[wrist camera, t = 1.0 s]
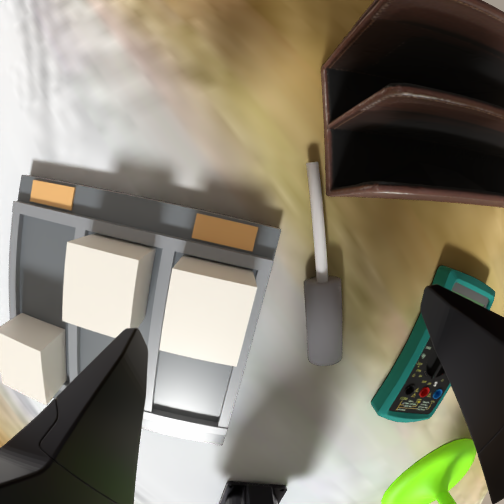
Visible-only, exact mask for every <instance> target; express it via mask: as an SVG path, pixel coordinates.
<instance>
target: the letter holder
mask: <svg viewBox="0 0 504 504" xmlns="http://www.w3.org/2000/svg"><path fill="white" fill-rule="evenodd" d="M321 79H322V94H323V112H324V138H325V171H326V195H327V196H330V197H335V196H340V197H345V196H347V197H368V198H391V199H409V200H426V201H439V202H451V203H464V204H475V205H485V206H496V207H502V208H504V12H503V11H501V10H499V9H497V8H495V7H494V6H492V5H489V4H488V3H486V2H484V1H482V0H375V1H374V2H373V3H372V4H371V5H370V6H369V8H368V9H367V10H366V11H365V12H364V14H363V15H362V16H361V17H360V19H359V20H358V21H357V23H356V24H355V25H354V27H353V28H352V29H351V31H350V32H349V33H348V35H347V36H346V37H344V39H343V41H342V42H341V43H340V44H339V45H338V47H337V48H336V50H335V51H334V52H333V54H332V55H331V56H330V57H329V59H328V60H327V61H326V62H325V63H324V64H323V66H322V68H321Z"/></svg>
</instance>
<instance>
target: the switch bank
mask: <svg viewBox="0 0 504 504" xmlns="http://www.w3.org/2000/svg"><path fill="white" fill-rule="evenodd" d="M12 212H13V215H12V224H11V236H10V252H9V311H10V320H11V319H12V318H14V317H16V316H17V315H19V314H20V313H24V314H26V315H29V316H31V317H34V318H36V319H39V320H41V321H44V322H47V323H49V324H52V325H55V326H57V327H60V328H63V329H65V351H66V374H67V380H66V382H65V383H64V384H63V385H62V387H61V388H60V389H59V390H58V392H57V393H56V394H55V395H54V397H53V398H55V399H56V397H57V396H58V395H59V394H60V393H61V392H62V391H63V390H64V389H65V388H66V387H67V386H68V385H69V384H70V383H71V382H72V381H73V380H74V379H75V377H76V376H77V375H78V374H79V373H80V372H81V371H83V370H84V369H85V368H86V367H87V366H88V365H89V364H90V363H91V362H92V361H93V360H94V359H95V358H96V357H97V356H98V355H99V354H100V353H101V352H102V351H103V350H104V349H105V348H106V347H107V346H108V345H109V344H110V343H111V342H112V341H113V340H114V339H115V338H114V337H110V336H107V335H104V334H100V333H97V332H94V331H91V330H88V329H85V328H82V327H79V326H76V325H73V324H70V323H67V322H64V321H62V307H63V284H64V269H65V257H66V247H67V242H68V241H71V240H75V239H78V238H81V237H84V236H88V235H91V234H94V233H95V234H99V235H103V236H107V237H112V238H116V239H120V240H124V241H128V242H132V243H137V244H141V245H145V246H149V247H153V248H156V251H155V256H154V262H153V268H152V274H151V280H150V287H149V293H148V300H147V307H146V315H145V318H144V320H143V321H142V323H141V324H140V326H139V327H138V329H139V330H140V332H141V334H142V336H143V338H144V340H145V343H146V345H147V347H148V368H147V389H146V400H145V407H144V414H143V421H142V429H146V430H150V431H153V432H157V433H162V434H166V435H170V436H175V437H179V438H184V439H189V440H194V441H199V442H205V443H211V444H217V445H223V442H224V439H225V436H226V433H227V429H228V425H229V422H230V418H231V415H232V411H233V408H234V404H235V401H236V397H237V394H238V390H239V387H240V383H241V380H242V376H243V372H244V369H245V365H246V362H247V358H248V354H249V351H250V347H251V343H252V340H253V336H254V332H255V329H256V325H257V321H258V318H259V314H260V310H261V306H262V303H263V299H264V295H265V291H266V287H267V284H268V280H269V276H270V273H271V269H272V265H273V260H274V256H275V252H276V248H277V244H278V240H279V236H280V232H281V229H280V228H278V227H274V226H269V225H265V224H261V223H257V222H253V221H248V220H244V219H240V218H235V217H231V216H227V215H222V214H218V213H214V212H209V211H205V210H200V209H196V208H191V207H187V206H182V205H178V204H173V203H168V202H164V201H159V200H154V199H150V198H145V197H140V196H135V195H130V194H125V193H120V192H115V191H111V190H105V189H100V188H95V187H90V186H85V185H80V184H75V183H69V182H64V181H58V180H53V179H48V178H42V177H36V176H31V175H22V176H21V182H20V188H19V195H18V201H13V208H12ZM183 255H188V256H192V257H197V258H201V259H205V260H210V261H214V262H219V263H223V264H228V265H232V266H236V267H241V268H245V269H250V270H253V274H254V277H255V281H256V284H257V291H256V295H255V298H254V302H253V306H252V310H251V314H250V318H249V322H248V326H247V329H246V333H245V337H244V341H243V345H242V349H241V352H240V356H239V360H238V364H237V367H235V366H230V365H224V364H219V363H214V362H209V361H204V360H200V359H195V358H191V357H186V356H182V355H177V354H173V353H169V352H165V351H161V350H159V348H160V341H161V334H162V327H163V321H164V314H165V308H166V302H167V296H168V290H169V284H170V279H171V273H172V268H173V267H174V266H175V264H176V263H177V262H178V261H179V260H180V258H181V257H182V256H183Z"/></svg>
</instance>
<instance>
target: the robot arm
mask: <svg viewBox="0 0 504 504" xmlns="http://www.w3.org/2000/svg"><path fill="white" fill-rule="evenodd" d="M420 309H421V314H422V317H423V319H424V322H425V324H426V327H427V330H428V332H429V335H430V338H431V341H432V343H433V346H434V349H435V351H436V353H437V356H438V358H439V360H440V362H441V364H442V366H443V369H444V371H445V373H446V375H447V377H448V380H449V382H450V384H451V386H452V389H453V391H454V393H455V396H456V398H457V401H458V403H459V405H460V408H461V410H462V413H463V415H464V418H465V421H466V423H467V426H468V429H469V431H470V434H471V437H472V440H473V442H474V445H475V448H476V451H477V453H478V457H479V461H480V464H481V467H482V470H483V473H484V477H485V480H486V483H487V487H488V490H489V494H490V498H491V501H492V504H495V503H497V502H499V501H500V500H502V499H504V317H502V316H500V315H498V314H496V313H494V312H492V311H490V310H488V309H486V308H485V307H483V306H481V305H479V304H477V303H475V302H473V301H471V300H469V299H467V298H465V297H463V296H461V295H459V294H457V293H454V292H452V291H450V290H448V289H446V288H444V287H442V286H440V285H438V284H434V285H429V286H427V287H426V288H425V290H424V294H423V298H422V302H421V308H420ZM147 368H148V347H147V345H146V343H145V340H144V338H143V336H142V334H141V332H140V330H139V329H138V328H126V329H124V330H123V331H122V332H121V333H120V334H119V335H118V336H117V337H116V338H115V339H114V340H113V341H112V342H111V343H110V344H109V345H108V346H107V347H106V348H105V349H104V350H103V351H102V352H101V353H100V354H99V355H98V356H97V357H96V358H95V359H94V360H93V361H92V362H91V363H90V364H89V365H88V366H87V367H86V368H85V369H84V370H83V371H81V372H80V373H79V374H78V375H77V376H76V377H75V379H74V380H73V381H72V382H71V383H70V384H69V385H68V386H67V387H66V388H65V389H64V390H63V391H62V392H61V393H60V394H59V395H58V396H57V397H56V399H54V400H53V401H52V402H51V403H50V404H49V405H48V406H47V407H46V408H45V409H44V410H43V411H42V412H41V413H40V414H39V415H38V416H37V417H35V418H34V419H33V420H32V421H31V422H30V423H29V424H28V425H27V426H25V427H24V428H23V429H22V430H21V431H20V432H19V433H17V434H16V435H15V436H14V437H13V438H12V439H11V440H9V441H8V442H7V443H6V444H5V445H4V446H2V447H1V448H0V504H134V492H135V481H136V471H137V461H138V452H139V444H140V436H141V428H142V421H143V414H144V407H145V400H146V389H147ZM286 491H287V487H286V486H285V485H266V484H252V483H241V482H228V483H227V484H226V487H225V489H224V492H223V495H222V497H221V500H220V503H219V504H279V502H280V501H281V499H282V497H283V496H284V494H285V492H286Z"/></svg>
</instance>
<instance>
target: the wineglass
mask: <svg viewBox="0 0 504 504" xmlns="http://www.w3.org/2000/svg"><path fill="white" fill-rule="evenodd" d="M475 455H476V448H475V445H474V442H473V440H472V439H466V438H464V439H459V440H455V441H452V442H450V443H448V444H445V445H443V446H441V447H440V448H438V449H436V450H434V451H433V452H431V453H429V454H428V455H426V456H425V457H423V458H422V459H420V460H419V461H417V462H416V463H415V464H413V465H412V466H411V467H410V468H408V469H407V470H406V471H405V472H403V473H402V474H401V475H400V476H399V477H398V478H397V479H396V480H395V481H394V482H393V483H392V484H391V485H390V487H389V488H388V489H387V491H386V492H385V493H384V496H383V498H382V500H381V502H382V504H429V503H431V502H433V501H435V500H436V499H437V501H438V503H439V504H456V502H455V501H454V499H453V498H452V496H451V495H450V493H449V492H448V491H449V490H450V489H451V488H452V487H454V486H455V485H456V484H457V483H458V482H459V481H460V480H461V479H462V478H463V476H464V475H465V474H466V472H467V471H468V470H469V468H470V466H471V465H472V463H473V461H474V458H475Z"/></svg>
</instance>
